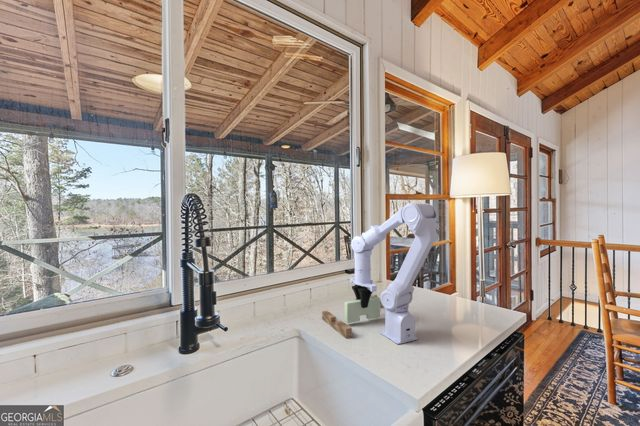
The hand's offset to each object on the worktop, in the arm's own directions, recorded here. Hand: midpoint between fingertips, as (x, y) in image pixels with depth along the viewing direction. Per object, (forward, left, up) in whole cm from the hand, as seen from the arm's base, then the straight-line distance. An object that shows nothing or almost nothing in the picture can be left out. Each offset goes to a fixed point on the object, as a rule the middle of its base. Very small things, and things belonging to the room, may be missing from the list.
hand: (362, 306), depth 107 cm
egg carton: (+13, -12, -6) cm, 19 cm away
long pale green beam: (0, 0, -5) cm, 5 cm away
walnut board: (0, +11, -6) cm, 12 cm away
